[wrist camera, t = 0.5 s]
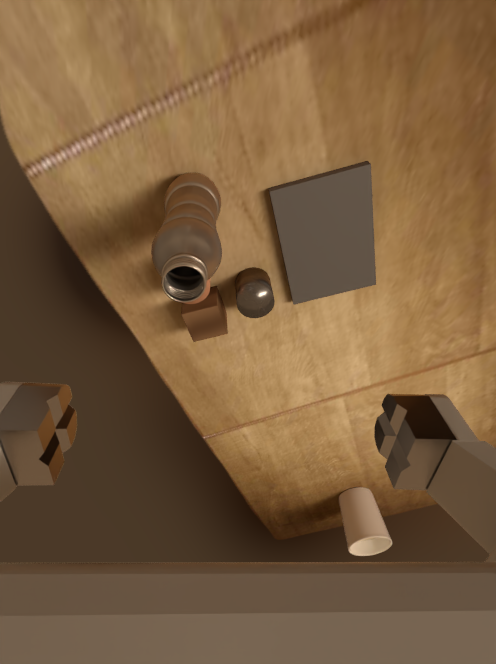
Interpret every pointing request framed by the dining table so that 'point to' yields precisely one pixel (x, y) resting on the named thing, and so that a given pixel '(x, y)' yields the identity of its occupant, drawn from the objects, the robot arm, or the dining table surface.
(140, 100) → the dining table surface
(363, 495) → the candle holder
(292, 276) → the charcoal board
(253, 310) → the dark metal tin
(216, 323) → the walnut block
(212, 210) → the plastic bottle
